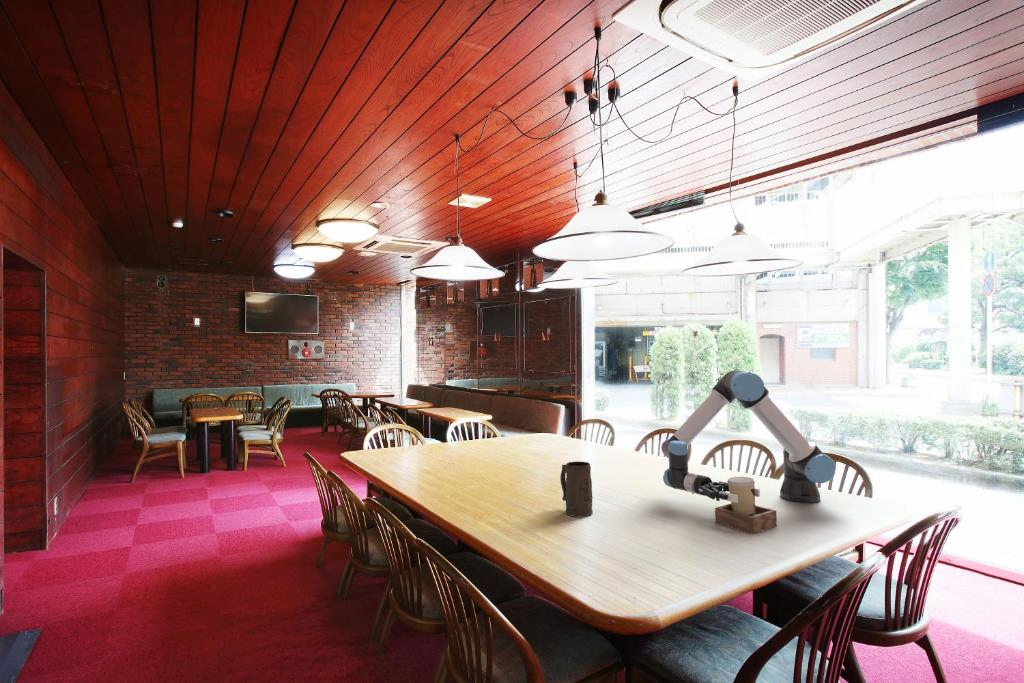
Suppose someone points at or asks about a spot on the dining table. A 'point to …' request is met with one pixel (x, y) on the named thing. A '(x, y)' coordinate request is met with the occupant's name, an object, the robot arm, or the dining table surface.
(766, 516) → the wooden tray
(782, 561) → the dining table surface
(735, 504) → the coffee cup
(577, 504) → the beer stein
